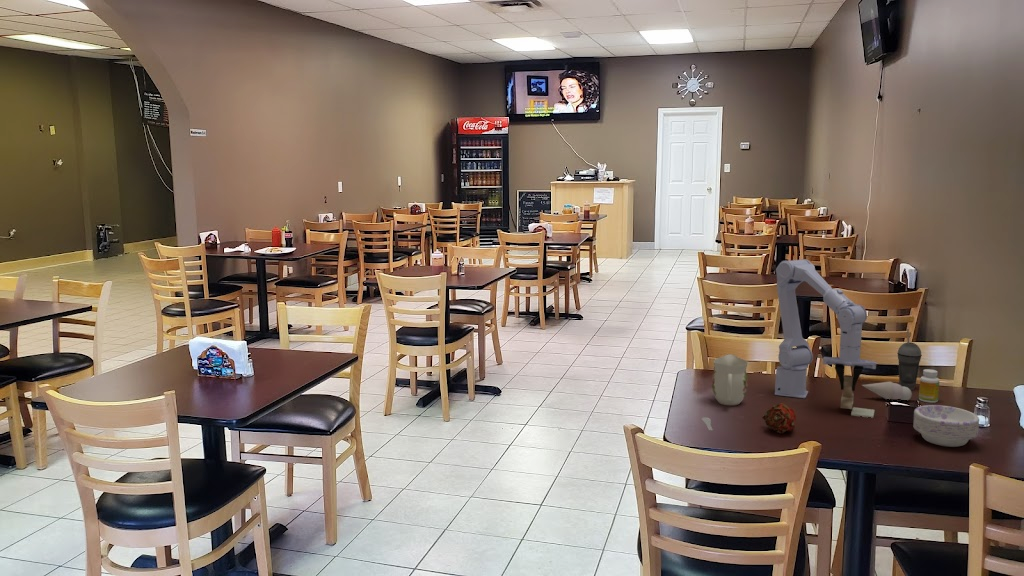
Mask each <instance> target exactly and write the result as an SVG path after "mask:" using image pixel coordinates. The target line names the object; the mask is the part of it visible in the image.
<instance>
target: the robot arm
mask: <svg viewBox="0 0 1024 576" xmlns="http://www.w3.org/2000/svg"><path fill="white" fill-rule="evenodd" d="M815 267H816V266H815V265H814V264H813V263H812V262H811V261H810V260H808V259H806V258H802V259H795V260H793V259H792V260H781V262H779V264H778V265H777V267H776V268H775V273H776V274H775V275H776V293H777V299H778V305H779V312H780V317H781V318H780V319H781V325H782V332H783V340H782V342H781V343H780V344H779V345H778V350H779V352H778V361H779V365H780V366H779V365H778V366H776V371H775V379H774V380H775V382H774V383H775V384H774V395H775V396H781V397H782V396H783V397H790V398H791V397H792V398H800V399H806V398H807V396H808V393H809V391H808V390H807V370H808V368H809V365H811V364H812V362H813V359H814V354H813V351H812V349H811V348H810V345H809V344H810V343H809V341H807V340H806V339H805V338H804V337H803V334H802V328H801V321H800V314H799V306H798V303H797V302H798V301H797V296H796V289H797V288H798V287H799V285H800V284H801V283H803V282H806V283H807V284H808V285H809V286H810V287H812V289H814V290H815V291H817V292H818V293H819V294H820V295H821V296H822V297H823V298H822V299H823V302H824V304H825V305H826V306H828V308H829V309H830V310H831V311H833V312H834V313H835V315H836V319H837V322H838V323H839V329H840V340H839V341H840V342H839V354H838V355H839V357H838V356H823V358H822V364H823V365H834V370H835V372H836V374H837V377H838V380H839V384H840V390H841V391H843V388H844V375H845V370H846V369H845V367H852V368H853V371H852V376H853V384H852V392H855V391H856V385H857V382H858V380H859V378H860V376H861V375H862V373H863V371H864V369H871V370H876V369H877V361H874V360H867V359H862V358H861V350H862V347H861V346H862V332H863V330H862V329H863V324H864V323H866V321H867V318H868V312H867V310H866V309H865V307H864V306H863V305H862V304H856V303H854V301H853V300H851V299H850V298H848V297H847V296H846V294H844V291H843V290H842V289H839V288H833V287H832V286H830V285H829V283H828V282H827V281H826V280H825V279H824V278H823V277H822V276H821V275H820V273H818V271H817V270H816V268H815Z"/></svg>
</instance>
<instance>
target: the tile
mask: <svg viewBox="0 0 1024 576" xmlns="http://www.w3.org/2000/svg"><path fill="white" fill-rule="evenodd" d="M850 412H851V413H850V416H853V417H860V416H862V417H863V418H868V417H871V418H870V419H873V418H874V416H875V409H870V408H863V407H855V406H852V409H851V411H850ZM862 417H861V418H862Z"/></svg>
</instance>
